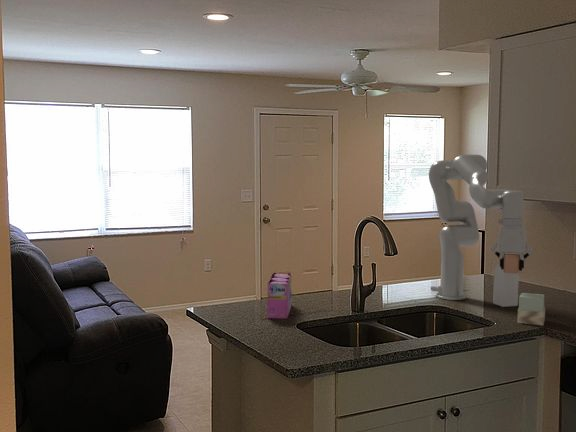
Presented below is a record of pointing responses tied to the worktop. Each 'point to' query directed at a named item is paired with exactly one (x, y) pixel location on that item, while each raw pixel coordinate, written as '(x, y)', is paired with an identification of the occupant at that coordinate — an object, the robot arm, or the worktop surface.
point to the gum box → (279, 296)
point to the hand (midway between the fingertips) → (511, 269)
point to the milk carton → (505, 288)
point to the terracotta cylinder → (511, 263)
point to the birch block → (531, 317)
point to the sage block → (531, 302)
